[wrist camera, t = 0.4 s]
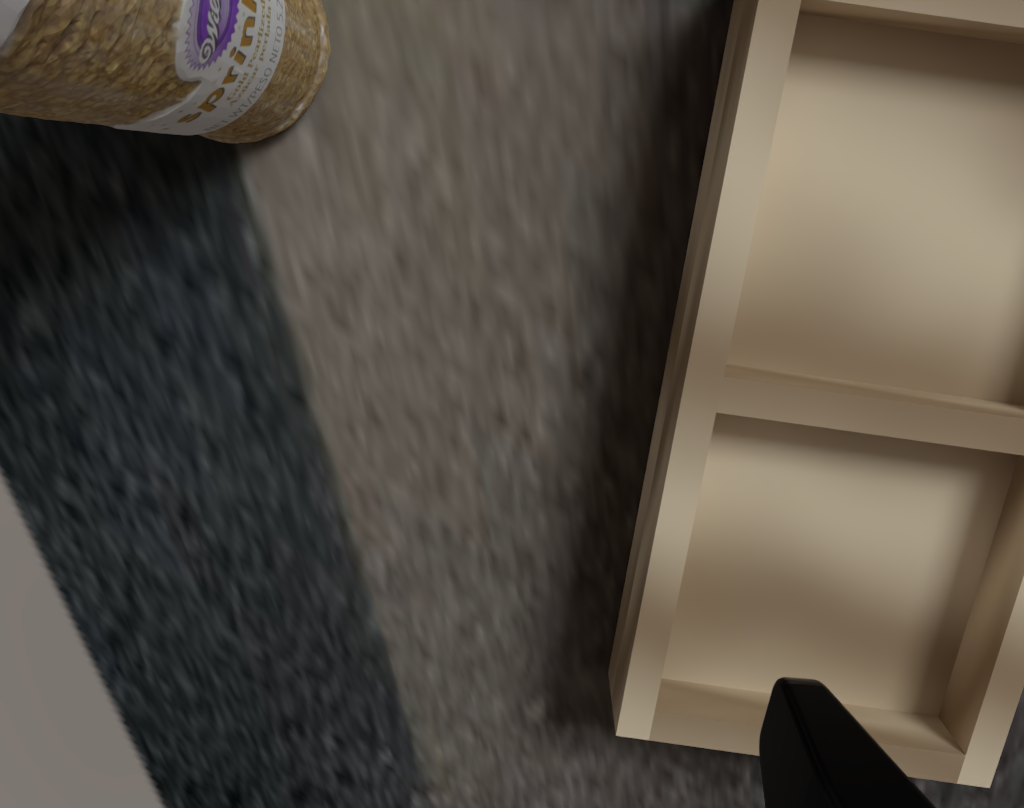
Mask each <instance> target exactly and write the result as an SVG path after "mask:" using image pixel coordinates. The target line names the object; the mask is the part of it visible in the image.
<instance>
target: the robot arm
mask: <svg viewBox="0 0 1024 808" xmlns="http://www.w3.org/2000/svg"><path fill="white" fill-rule="evenodd" d="M759 757H760V766H761V774H762V782H763V791H764V799H765V807H766V808H936V807H935V806H934V805H933V804H932V803H931V802H930V801H929V799H928V798H927V797H926V796H925V795H924V794H923V793H922V792H921V791H920V790H919V788H918V787H917V786H916V785H915V784H914V783H913V782H912V781H911V780H910V778H909V777H908V776H907V775H906V774H905V773H904V772H903V771H902V770H901V769H900V767H899V766H898V765H897V764H896V763H895V762H894V761H893V760H892V759H891V757H890V756H889V755H888V754H887V753H886V752H885V751H884V750H883V749H882V747H881V746H880V745H879V744H878V743H877V742H876V741H875V740H874V739H873V738H872V736H871V735H870V734H869V733H868V732H867V731H866V730H865V729H864V728H863V726H862V725H861V724H860V723H859V722H858V721H857V720H856V719H855V718H854V717H853V715H852V714H851V713H850V712H849V711H848V710H847V709H846V708H845V707H844V705H843V704H842V703H841V702H840V701H839V700H838V699H837V698H836V697H835V696H834V694H833V693H832V692H831V691H830V690H829V689H828V688H827V687H826V686H825V685H824V684H823V683H821V682H820V681H818V680H815V679H805V678H792V677H782V678H779V679H777V681H776V682H775V684H774V686H773V689H772V692H771V696H770V699H769V703H768V706H767V710H766V714H765V717H764V721H763V724H762V728H761V732H760V738H759Z"/></svg>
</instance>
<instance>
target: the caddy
mask: <svg viewBox="0 0 1024 808" xmlns="http://www.w3.org/2000/svg"><path fill="white" fill-rule="evenodd" d="M608 677H609V685H610V693H611V701H612V709H613V717H614V725H615V733H616V736H621V737H629V738H636V739H643V740H650V741H657V742H664V743H671V744H679V745H686V746H693V747H700V748H707V749H714V750H721V751H729V752H736V753H743V754H750V755H757V756H759V738H760V732H761V728H762V724H763V721H764V717H765V714H766V710H767V706H768V703H769V699H770V696H771V692H772V689H773V686H774V684H775V682H776V681H777V679H779V678H782V677H792V678H805V679H815V680H818V681H820V682H821V683H823V684H824V685H825V686H826V687H827V688H828V689H829V690H830V691H831V692H832V693H833V694H834V696H835V697H836V698H837V699H838V700H839V701H840V702H841V703H842V704H843V705H844V707H845V708H846V709H847V710H848V711H849V712H850V713H851V714H852V715H853V717H854V718H855V719H856V720H857V721H858V722H859V723H860V724H861V725H862V726H863V728H864V729H865V730H866V731H867V732H868V733H869V734H870V735H871V736H872V738H873V739H874V740H875V741H876V742H877V743H878V744H879V745H880V746H881V747H882V749H883V750H884V751H885V752H886V753H887V754H888V755H889V756H890V757H891V759H892V760H893V761H894V762H895V763H896V764H897V765H898V766H899V767H900V769H901V770H902V771H903V772H904V773H905V774H906V775H907V776H908V777H914V778H921V779H929V780H936V781H943V782H950V783H957V784H964V785H971V786H979V787H986V788H990V785H991V782H992V779H993V776H994V774H995V771H996V768H997V765H998V762H999V759H1000V756H1001V753H1002V750H1003V747H1004V744H1005V741H1006V738H1007V735H1008V732H1009V729H1010V726H1011V723H1012V720H1013V717H1014V714H1015V711H1016V708H1017V705H1018V702H1019V699H1020V696H1021V693H1022V690H1023V687H1024V0H734V2H733V7H732V12H731V18H730V23H729V29H728V34H727V39H726V45H725V50H724V55H723V61H722V66H721V71H720V77H719V82H718V87H717V93H716V98H715V103H714V109H713V114H712V119H711V125H710V130H709V135H708V141H707V146H706V151H705V157H704V162H703V167H702V173H701V178H700V184H699V189H698V194H697V200H696V205H695V210H694V216H693V221H692V226H691V232H690V237H689V242H688V248H687V253H686V258H685V264H684V269H683V274H682V280H681V285H680V290H679V296H678V301H677V306H676V312H675V317H674V322H673V328H672V333H671V339H670V344H669V349H668V355H667V360H666V365H665V371H664V376H663V381H662V387H661V392H660V397H659V403H658V408H657V413H656V419H655V424H654V429H653V435H652V440H651V445H650V451H649V456H648V461H647V467H646V472H645V478H644V483H643V488H642V494H641V499H640V504H639V510H638V515H637V520H636V526H635V531H634V536H633V542H632V547H631V552H630V558H629V563H628V568H627V574H626V579H625V584H624V590H623V595H622V600H621V606H620V611H619V616H618V622H617V627H616V633H615V638H614V643H613V649H612V654H611V659H610V665H609V670H608Z"/></svg>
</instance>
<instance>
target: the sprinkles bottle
mask: <svg viewBox="0 0 1024 808" xmlns="http://www.w3.org/2000/svg"><path fill="white" fill-rule="evenodd" d="M330 53H331V49H330V40H329V29H328V22H327V17H326V13H325V10H324V7H323V5H322V2H321V0H0V113H6V114H12V115H17V116H21V117H34V118H40V119H45V120H57V121H71V122H80V123H87V124H99V125H105V126H110V127H113V128H115V129H125V130H135V131H145V132H154V133H163V134H175V135H197V134H198V135H200V136H203V137H205V138H208V139H212V140H215V141H219V142H224V143H246V142H256V141H259V140H262V139H264V138H266V137H270V136H273V135H275V134H277V133H279V132H281V131H284V130H286V129H287V128H288V127H289V126H291V125H292V124H293V123H295V122H296V121H297V120H298V119H299V118H300V117H301V116H302V115H303V114H304V112H305V111H306V110H307V109H308V107H309V106H310V104H311V103H312V102H313V100H314V96H315V94H316V92H317V91H319V89H320V88H321V83H322V81H323V78H324V76H325V74H326V72H327V67H328V60H329V56H330Z"/></svg>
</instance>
